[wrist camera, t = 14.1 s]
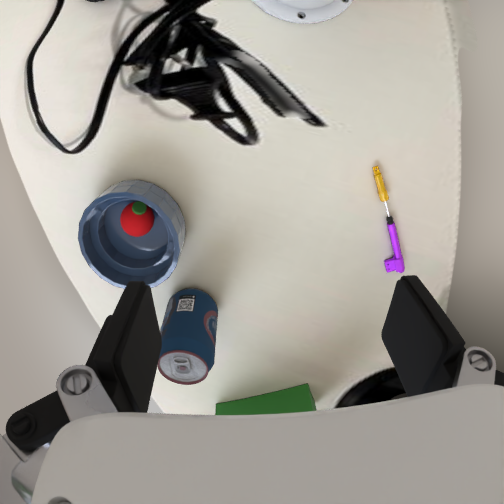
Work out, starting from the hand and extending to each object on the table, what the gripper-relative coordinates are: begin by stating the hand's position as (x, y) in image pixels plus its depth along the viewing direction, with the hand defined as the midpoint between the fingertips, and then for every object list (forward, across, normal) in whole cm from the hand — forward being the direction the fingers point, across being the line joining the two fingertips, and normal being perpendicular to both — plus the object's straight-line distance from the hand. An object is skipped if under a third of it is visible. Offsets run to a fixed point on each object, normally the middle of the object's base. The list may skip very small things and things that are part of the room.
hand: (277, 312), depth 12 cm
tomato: (+25, +14, +8) cm, 29 cm away
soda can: (+26, +8, +20) cm, 34 cm away
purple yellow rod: (+26, -17, +8) cm, 33 cm away
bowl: (+26, +14, +8) cm, 31 cm away
